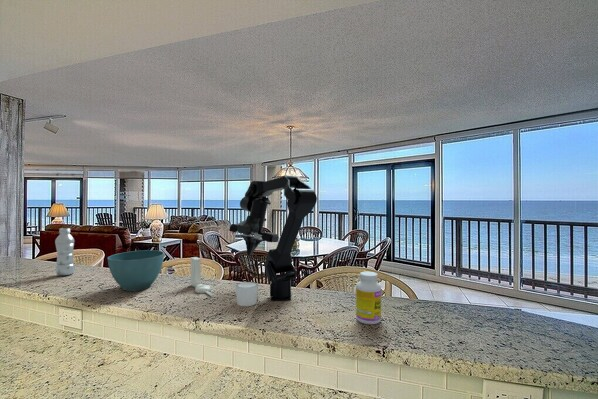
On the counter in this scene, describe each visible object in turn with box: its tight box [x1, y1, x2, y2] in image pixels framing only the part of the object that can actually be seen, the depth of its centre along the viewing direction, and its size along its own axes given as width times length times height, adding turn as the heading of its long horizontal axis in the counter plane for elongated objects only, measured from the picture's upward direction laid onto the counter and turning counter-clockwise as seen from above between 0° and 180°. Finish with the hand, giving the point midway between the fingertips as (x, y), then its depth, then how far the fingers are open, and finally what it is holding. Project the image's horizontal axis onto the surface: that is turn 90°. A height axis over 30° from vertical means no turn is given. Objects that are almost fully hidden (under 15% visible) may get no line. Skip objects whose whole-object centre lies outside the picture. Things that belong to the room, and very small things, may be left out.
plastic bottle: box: [54, 227, 76, 277], centre depth 126 cm, size 6×7×20 cm
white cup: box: [235, 281, 259, 309], centre depth 90 cm, size 7×7×7 cm
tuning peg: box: [190, 256, 214, 298], centre depth 102 cm, size 5×17×10 cm, turn 39°
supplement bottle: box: [355, 271, 382, 325], centre depth 81 cm, size 7×7×13 cm
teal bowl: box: [107, 249, 165, 292], centre depth 109 cm, size 18×18×12 cm
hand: (249, 255), depth 110 cm, fingers closed
